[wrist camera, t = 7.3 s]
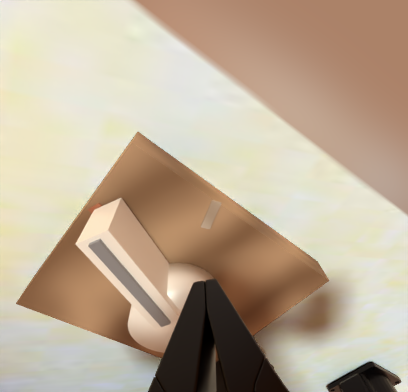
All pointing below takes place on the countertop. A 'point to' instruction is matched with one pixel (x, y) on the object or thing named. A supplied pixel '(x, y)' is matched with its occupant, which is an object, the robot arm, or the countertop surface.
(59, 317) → the panel
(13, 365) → the countertop surface
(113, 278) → the cream elongated piece
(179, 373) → the robot arm
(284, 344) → the countertop surface
